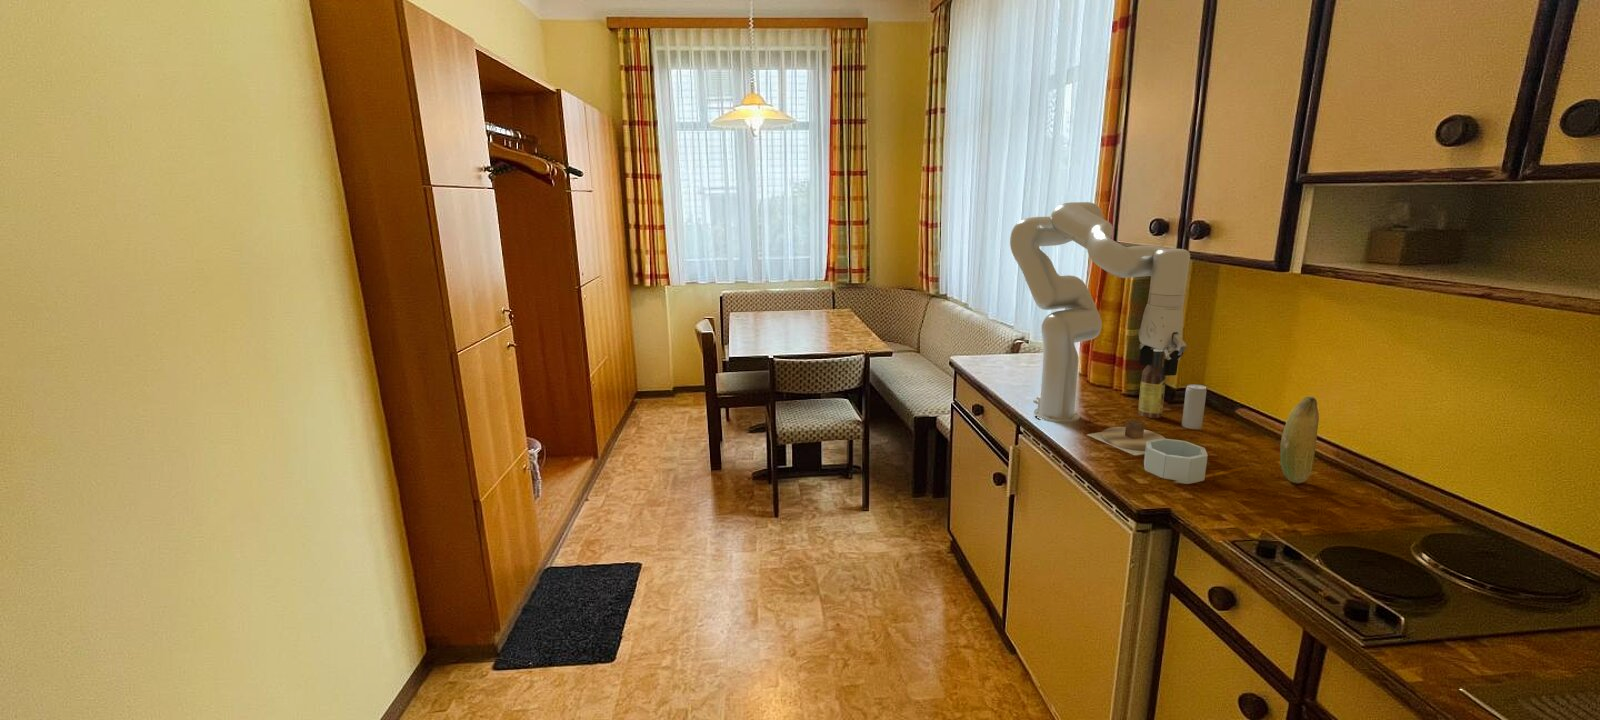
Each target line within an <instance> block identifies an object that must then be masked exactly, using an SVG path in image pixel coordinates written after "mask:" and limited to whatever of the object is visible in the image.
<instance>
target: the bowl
mask: <svg viewBox="0 0 1600 720" xmlns="http://www.w3.org/2000/svg"><path fill="white" fill-rule="evenodd" d="M1208 457H1209V455H1208V452H1207V450H1206V448H1205V447H1203V446H1200V445H1197V444H1195V443H1192V442H1190V441H1187V440H1183V439H1182V440H1181V439H1180V440H1179V439H1173V438H1166V437H1164V438H1160V439H1155V440H1149V441H1146V448H1145V454H1144V458H1143V466H1144V471H1145V472H1148V473H1150V474H1152V475H1154V476H1157V477H1158V478H1161V479H1165V480H1172V481H1171V482H1172V483H1179V484H1185V485H1190V484H1195V483H1199V482H1203V481H1205V478H1206V470H1207V462H1208Z"/></svg>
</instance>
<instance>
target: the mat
mask: <svg viewBox="0 0 1600 720" xmlns="http://www.w3.org/2000/svg"><path fill="white" fill-rule="evenodd" d="M1102 432H1103V431H1100V432H1099V431H1098V432H1094V433H1093V432H1092V433H1088V434H1086V436H1088V437H1090V438H1093V439H1095V440H1097V441H1099V442H1102V443H1104V444H1107V445H1109V446H1111V447H1114V448H1115V449H1119V450H1121V451H1123V452H1125V453H1127V454H1130V455H1133V456H1141V455H1145V451H1138V450H1130V449H1125V448H1121V447H1117V446H1114V445H1112V444H1110V443H1108V442H1106V441H1105V440H1104V439H1103V438H1102Z"/></svg>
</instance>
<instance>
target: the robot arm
mask: <svg viewBox="0 0 1600 720" xmlns="http://www.w3.org/2000/svg"><path fill="white" fill-rule="evenodd" d="M1051 212H1052V213H1051V214H1050V216H1033V217H1027V218H1026V217H1025V218H1024V219H1021V220H1019V221H1018V222H1017V223H1015V225H1014V226H1013V228H1012V231H1011V233H1010V238H1009V243H1010V244H1009V245H1010V250H1011V253H1012V255H1013V257H1014V259H1015V262H1016V264H1018V266H1019V269H1020V270H1021V272H1022V274H1023V277H1024V279H1025V281H1026V284H1027V286H1028V288H1029V291H1030V293H1031V295H1032V297H1033V298H1032V299H1033V301H1034V302H1035V304H1036V306H1037V307H1038V308H1039V309H1041V310H1043V311H1044V310H1045V311H1053V310H1057V311H1054V312H1051V313H1049V314H1048V315H1047V316H1046V317H1045V318H1044V319H1043V321H1042V322H1041V323H1042V324H1041V336H1042V337H1041V338H1042V344H1043V346H1042V347H1043V352H1042V353H1043V354H1042V355H1043V358H1042V370H1041V371H1042V372H1041V384H1040V385H1041V386H1040V387H1041V388H1040V395H1038V396H1036V398H1034V399H1033V400H1032V402H1033V403H1034V404H1036V405H1037V408H1036V409H1034V410H1033V415H1034V414H1035V415H1036V416H1037V417H1039V418H1042V419H1044V420H1043V421H1046V420H1048V421H1047V422H1051V421H1052V422H1053V423H1065V424H1066V423H1074V422H1077V421H1079V420H1080V417H1081V415H1080V413H1079V412H1077V411H1076V409H1075V408H1076V397H1077V396H1076V395H1077V383H1078V374H1079V360H1080V359H1079V354H1078V353H1079V352H1078V351H1077V349H1076V346H1075V344H1076V343H1080V342H1088V341H1091V340H1094V339H1095V338H1097V337H1098V336H1099V335H1100V333H1101V331H1102V327H1103V326H1102V325H1103V322H1102V318H1101V315H1100V313H1099V310H1098V308H1097V306H1096V304H1095V302H1094V299H1093V297H1092V295H1091V293H1090V291H1089V288H1088V287H1087V285H1086V283H1085V282H1084V281H1083V280H1082V279H1081V278H1080V277H1078V276H1075V275H1060V274H1058V272H1057V270H1056V268H1055V266H1054V264H1053V261H1052V260H1051V258H1050V257H1049V256H1048V255H1047V254H1046V253H1045V252H1044V251H1042V250H1041V248H1040V247H1048V246H1049V247H1051V246H1060V245H1061V246H1062V245H1064V244H1066V243H1067V244H1068V243H1070V242H1074V243H1076V244H1078V245H1079V246H1081V247H1082V248H1084V249H1086V250H1087V254H1088V257H1089V258H1090V259H1091V261H1092V263H1094V264H1095V265H1096V266H1097V267H1099V268H1101V269H1102V270H1104V271H1105V272H1107V273H1108V274H1110V275H1113V276H1115V277H1117V278H1121V279H1128V278H1142V277H1150V285H1149V293H1148V296H1147V297H1148V298H1147V304H1146V306H1145V308H1144V312H1143V315H1142V318H1141V319H1142V320H1141V322H1140V323H1141V324H1140V328H1138V330H1137V334H1138V339H1137V340H1138V342H1139V346H1138V348H1139V349H1140V350H1139V357H1138V365H1140V366H1147V365H1151V364H1152V359H1153V351H1154V349H1158V350H1164V355H1165V358H1164V359H1163V364H1162V366H1163V372H1162V374H1163V375H1164V376H1165V377H1166V376H1169V377H1170V376H1176V375H1177V372H1178V366H1179V360H1181V357H1182V356H1183V355H1184V351H1185V349H1187V343H1186V342H1185V341H1184V340H1183V329H1184V327H1183V326H1184V311H1183V310H1184V304H1185V298H1186V296H1185V295H1186V291H1187V290H1186V289H1187V281H1188V276H1189V267H1190V261H1191V253H1190V251H1188V250H1187V249H1184V248H1183V249H1182V248H1168V247H1167V248H1165V247H1161V246H1157V245H1152V244H1151V245H1150V244H1149V245H1133V246H1132V245H1130V246H1125V245H1123V244H1121V243H1119V242H1117V241H1115V240H1113V239H1112V236H1113V231H1114V229H1113V225H1112V223H1111V222H1110V221H1108V220H1106V219H1104V214H1103V210H1102V209H1101V208H1100V206H1099V205H1097V204H1095V202H1094V203H1093V202H1089V201H1084V202H1083V201H1077V202H1075V201H1074V202H1073V201H1071V202H1064V203H1061V204H1060V205H1058V206H1056V207H1055V208H1054V209H1053V211H1051ZM1062 309H1063V310H1062ZM1052 422H1051V423H1052Z"/></svg>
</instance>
